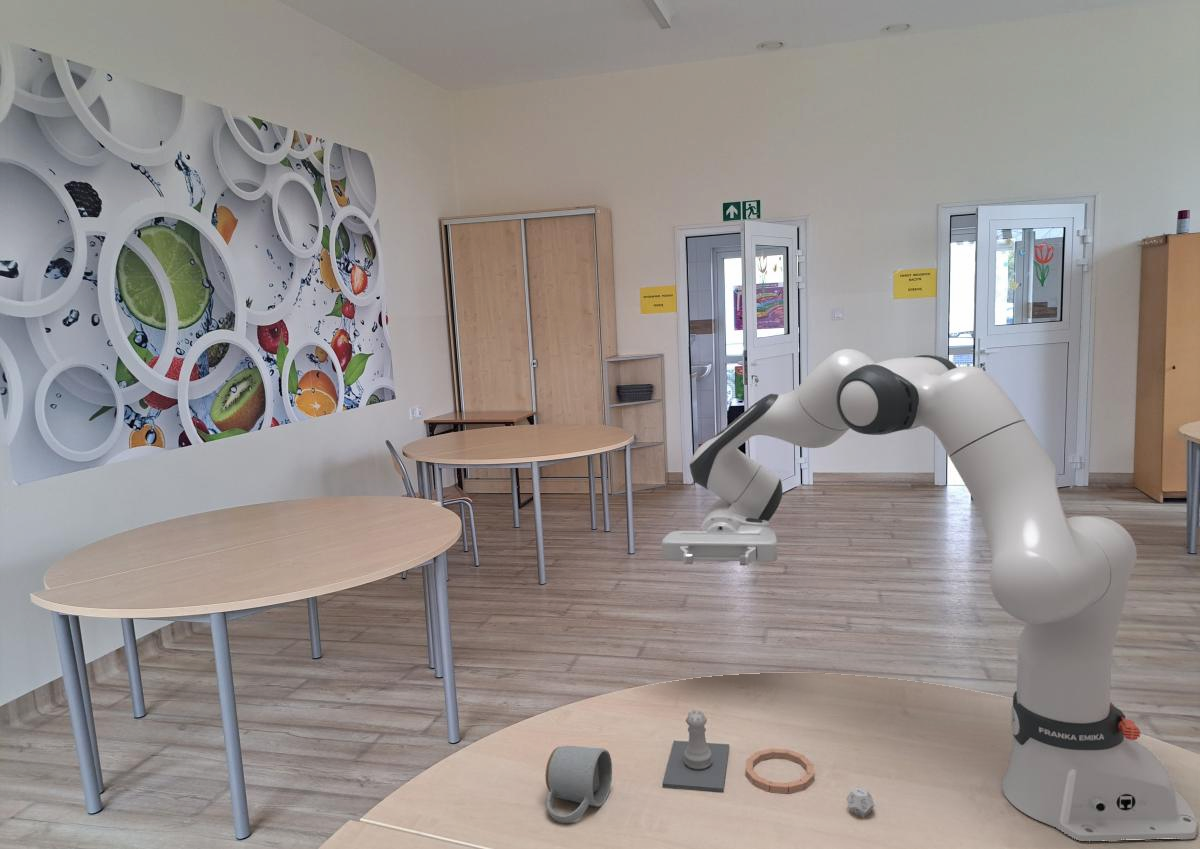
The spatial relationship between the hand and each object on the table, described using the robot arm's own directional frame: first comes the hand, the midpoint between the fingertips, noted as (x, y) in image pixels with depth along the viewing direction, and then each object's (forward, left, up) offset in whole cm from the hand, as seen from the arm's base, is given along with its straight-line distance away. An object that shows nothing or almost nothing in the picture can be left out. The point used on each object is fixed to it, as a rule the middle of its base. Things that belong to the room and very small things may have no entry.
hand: (715, 560), depth 135 cm
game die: (-21, +24, -28) cm, 43 cm away
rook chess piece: (+2, +16, -28) cm, 32 cm away
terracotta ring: (-10, +16, -28) cm, 34 cm away
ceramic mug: (+19, +28, -28) cm, 44 cm away
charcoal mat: (+2, +16, -28) cm, 32 cm away
